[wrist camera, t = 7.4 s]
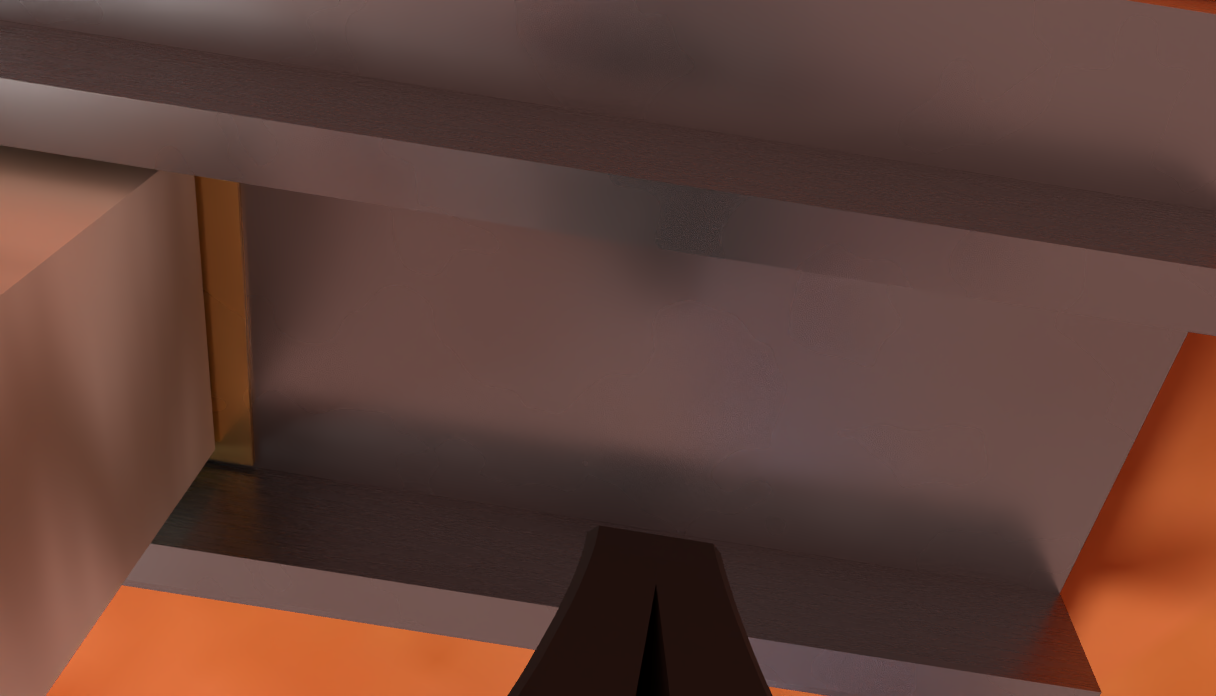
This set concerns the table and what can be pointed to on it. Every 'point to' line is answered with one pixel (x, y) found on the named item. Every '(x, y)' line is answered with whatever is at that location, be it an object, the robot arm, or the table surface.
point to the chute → (665, 300)
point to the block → (91, 391)
